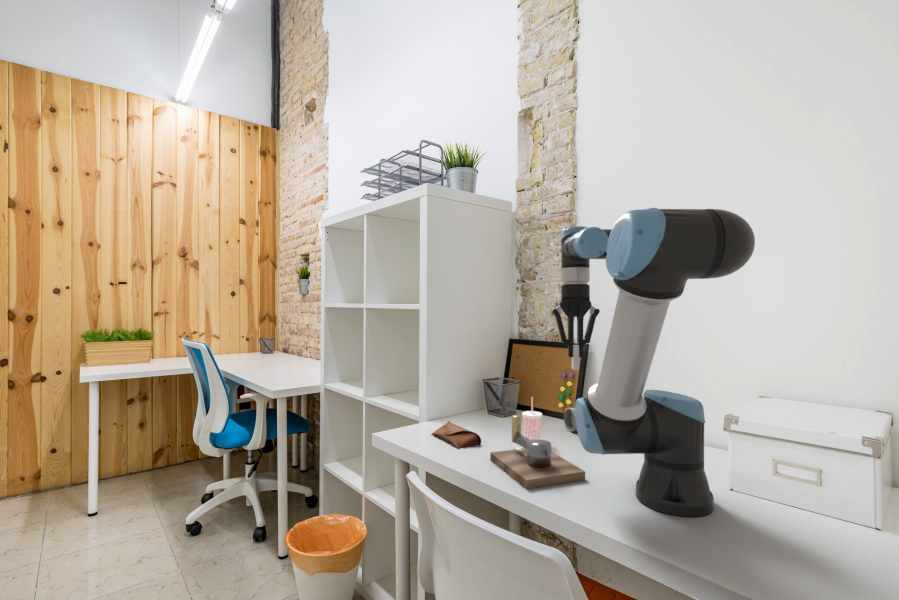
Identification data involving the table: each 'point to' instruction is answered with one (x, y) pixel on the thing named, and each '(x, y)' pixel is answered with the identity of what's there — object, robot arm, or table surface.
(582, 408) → the robot arm
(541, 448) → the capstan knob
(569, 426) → the ceramic mug
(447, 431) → the sunglasses case
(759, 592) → the table surface
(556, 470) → the walnut stand plate
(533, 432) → the beverage cup
